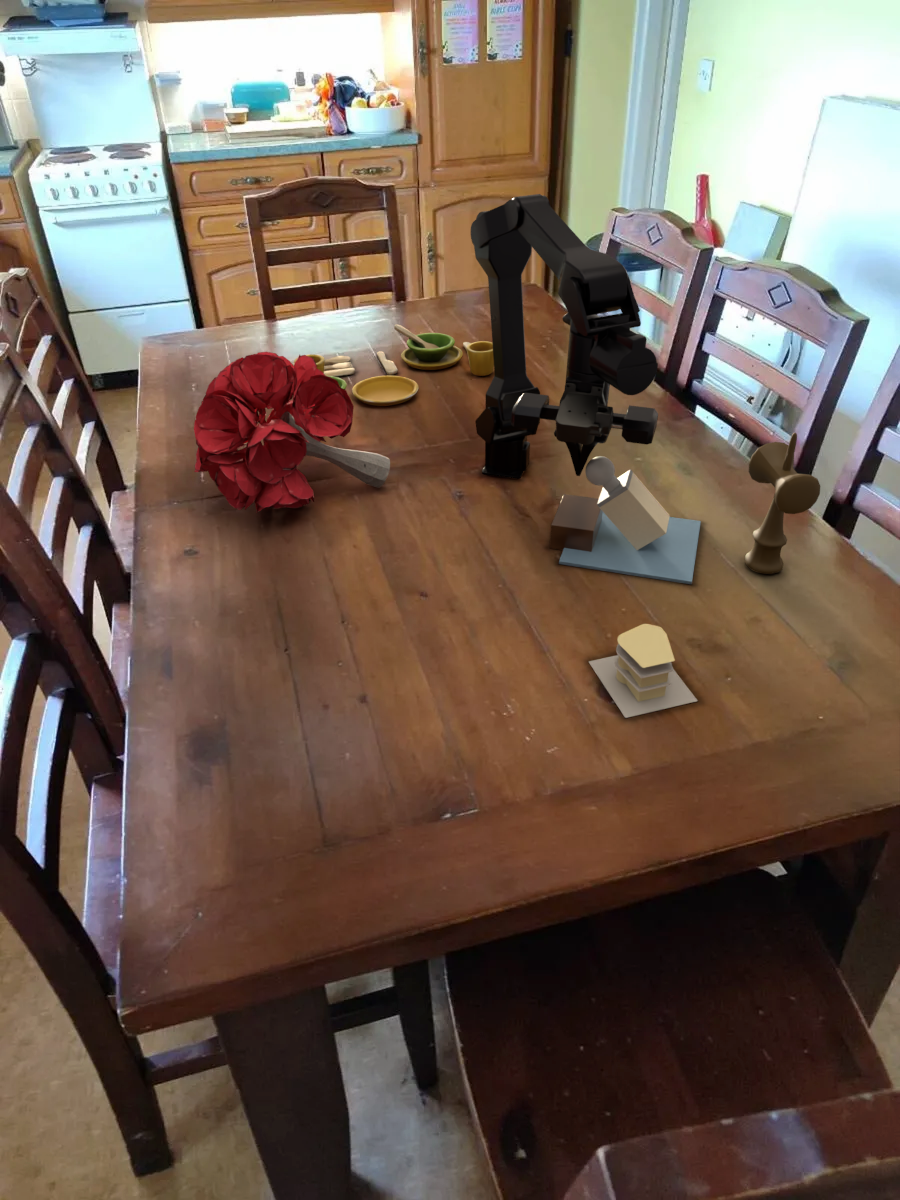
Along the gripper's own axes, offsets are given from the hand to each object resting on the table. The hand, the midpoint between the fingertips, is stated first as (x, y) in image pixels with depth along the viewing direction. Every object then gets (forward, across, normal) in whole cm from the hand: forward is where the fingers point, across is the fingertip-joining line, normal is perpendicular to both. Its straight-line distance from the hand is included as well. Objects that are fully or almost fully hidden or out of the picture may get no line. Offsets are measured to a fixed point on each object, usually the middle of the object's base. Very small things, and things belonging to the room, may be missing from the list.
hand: (578, 474), depth 119 cm
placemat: (+10, +8, 0) cm, 13 cm away
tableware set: (+10, -46, +48) cm, 67 cm away
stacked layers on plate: (+10, +14, -29) cm, 33 cm away
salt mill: (+8, +5, 0) cm, 10 cm away
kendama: (+10, +26, -1) cm, 28 cm away
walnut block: (+10, 0, 0) cm, 10 cm away
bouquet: (+11, -44, -1) cm, 45 cm away
